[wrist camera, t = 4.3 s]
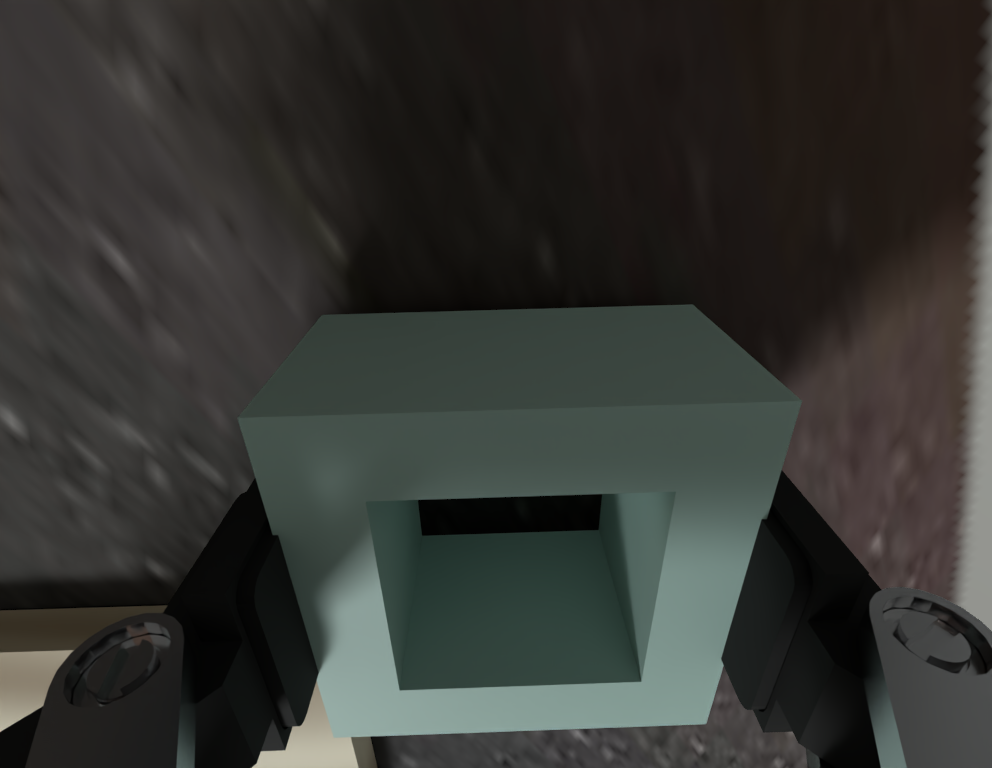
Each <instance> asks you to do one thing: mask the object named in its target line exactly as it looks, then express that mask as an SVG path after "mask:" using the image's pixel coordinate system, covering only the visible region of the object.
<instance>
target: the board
mask: <svg viewBox="0 0 992 768" xmlns="http://www.w3.org/2000/svg"><path fill="white" fill-rule="evenodd" d="M167 606H168V605H162V606H130V607H98V608H66V609H34V610H2V611H0V732H1V731H2V730H4V729H6V728H7V727H9V726H11V725H12V724H14V723H16V722H17V721H19V720H21V719H22V718H24V717H26V716H27V715H29V714H31V713H32V712H34V711H36V710H37V709H39V708H41V707H42V706H43V705H44V701H45V698H46V695H47V691H48V688H49V686H50V684H51V681H52V679H53V677H54V675H55V673H56V671H57V670H58V668H59V667H60V666H61V665H62V663H63V662H64V661H65V660H66V658H67V657H68V656H69V655H70V654H71V653H72V652H73V651H74V650H75V649H76V648H77V647H79V646H80V645H81V644H82V643H83V642H84V641H85V640H87V639H88V638H89V637H91V636H92V635H94V634H96V633H97V632H99V631H100V630H102V629H104V628H105V627H107V626H109V625H111V624H113V623H116V622H118V621H120V620H122V619H125V618H127V617H131V616H135V615H139V614H144V613H163V612H164V610H165V609H166V607H167ZM252 768H377V763H376V759H375V755H374V750H373V746H372V741H371V737H370V736H369V737H342V738H334V737H333V733H332V730H331V727H330V724H329V720H328V717H327V714H326V710H325V707H324V704H323V700H322V697H321V694H320V690H319V687H318V684H317V681H316V684H315V688H314V691H313V695H312V698H311V701H310V705H309V708H308V712H307V715H306V718H305V720H304V722H303V724H302V725H301V726H295V727H292V731H291V734H290V737H289V740H288V743H287V747H286V750H283V751H261V753H260V755H259V758H258V761H257V764H255V765H254V766H253V767H252Z"/></svg>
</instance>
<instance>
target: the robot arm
mask: <svg viewBox="0 0 992 768" xmlns="http://www.w3.org/2000/svg"><path fill="white" fill-rule="evenodd" d="M868 574H869V572H868V571H867V570H866V569H865V568H864V566H863V565H862V564H861V563H860V562H859V561H858V559H857V558H856V557H855V556H854V555H853V553H852V552H851V551H850V550H849V549H848V548H847V546H846V545H845V544H844V543H843V542H842V541H841V539H840V538H839V537H838V536H837V535H836V533H835V532H834V531H833V530H832V529H831V528H830V526H829V525H828V524H827V523H826V522H825V521H824V519H823V518H822V517H821V516H820V515H819V513H818V512H817V511H816V510H815V509H814V508H813V506H812V505H811V504H810V503H809V502H808V501H807V499H806V498H805V497H804V496H803V495H802V493H801V492H800V491H799V490H798V489H797V488H796V486H795V485H794V484H793V483H792V482H791V481H790V479H789V478H788V477H787V476H786V475H785V473H784V472H783V471H782V470H781V473H780V477H779V480H778V483H777V487H776V490H775V494H774V497H773V500H772V504H771V507H770V510H769V514H768V517H767V519H761V523H760V526H759V530H758V533H757V537H756V540H755V543H754V547H753V550H752V554H751V557H750V561H749V564H748V568H747V571H746V574H745V578H744V581H743V585H742V588H741V592H740V595H739V599H738V602H737V605H736V609H735V612H734V616H733V619H732V623H731V626H730V629H729V633H728V636H727V640H726V643H725V647H724V650H723V654H722V657H721V660H722V662H723V665H724V667H725V669H726V671H727V674H728V676H729V678H730V681H731V683H732V685H733V687H734V690H735V692H736V694H737V696H738V699H739V700H740V702H741V704H742V705H743V707H744V708H745V709H747V710H753V711H754V713H755V715H756V717H757V720H758V722H759V724H760V726H761V728H762V730H763V732H790V731H793V733H794V735H795V737H796V739H797V741H798V743H799V744H801V745H802V746H804V747H805V748H806V756H807V767H808V768H992V631H991V630H990V629H989V628H988V627H987V626H985V625H984V624H983V623H982V622H981V621H980V620H979V619H977V618H976V617H974V616H973V615H971V614H970V613H969V612H967V611H966V610H964V609H963V608H961V607H959V606H957V605H955V604H953V603H952V602H950V601H948V600H946V599H944V598H942V597H939V596H936V595H933V594H931V593H928V592H925V591H922V590H917V589H911V588H905V587H894V588H886V589H883V590H881V589H880V588H879V586H878V585H877V584H876V583H875V582H874V581H873V579H872V578H871V577H870V576H869V575H868ZM318 674H319V672H318V669H317V665H316V662H315V658H314V655H313V652H312V648H311V645H310V641H309V638H308V635H307V631H306V628H305V624H304V621H303V618H302V614H301V611H300V607H299V604H298V601H297V597H296V594H295V590H294V587H293V584H292V580H291V577H290V573H289V570H288V567H287V563H286V560H285V556H284V553H283V550H282V546H281V543H280V540H279V536H278V535H273V534H272V531H271V528H270V524H269V521H268V518H267V514H266V511H265V508H264V504H263V501H262V498H261V494H260V491H259V488H258V484H257V481H256V478H255V479H254V481H253V482H252V484H251V485H250V487H249V489H248V490H247V492H245V493H243V494H241V495H240V496H239V497H238V498H237V499H236V500H235V502H234V504H233V505H232V507H231V508H230V510H229V511H228V513H227V514H226V516H225V517H224V519H223V521H222V522H221V524H220V525H219V527H218V528H217V530H216V531H215V533H214V534H213V536H212V538H211V539H210V541H209V542H208V544H207V545H206V547H205V548H204V550H203V551H202V553H201V555H200V556H199V558H198V559H197V561H196V562H195V564H194V565H193V567H192V568H191V570H190V572H189V573H188V575H187V576H186V578H185V579H184V581H183V582H182V584H181V585H180V587H179V589H178V590H177V592H176V593H175V595H174V596H173V598H172V599H171V601H170V602H169V604H168V606H167V607H166V609H165V610H164V612H163V613H144V614H139V615H135V616H131V617H127V618H125V619H122V620H120V621H118V622H116V623H113V624H111V625H109V626H107V627H105V628H104V629H102V630H100V631H99V632H97V633H96V634H94V635H92V636H91V637H89V638H88V639H87V640H85V641H84V642H83V643H82V644H81V645H80V646H79V647H77V648H76V649H75V650H74V651H73V652H72V653H71V654H70V655H69V656H68V657H67V658H66V660H65V661H64V662H63V663H62V665H61V666H60V667H59V668H58V670H57V671H56V673H55V675H54V677H53V679H52V681H51V684H50V686H49V688H48V691H47V695H46V698H45V701H44V705H43V706H42V707H41V708H39V709H37V710H36V711H34V712H32V713H31V714H29V715H27V716H26V717H24V718H22V719H21V720H19V721H17V722H16V723H14V724H12V725H11V726H9V727H7V728H6V729H4V730H2V731H1V732H0V768H252V767H253V766H254V765H255V764H257V761H258V758H259V755H260V753H261V751H283V750H286V747H287V743H288V740H289V737H290V734H291V731H292V727H295V726H301V725H302V724H303V722H304V720H305V718H306V715H307V712H308V708H309V705H310V701H311V698H312V695H313V691H314V688H315V684H316V681H317V678H318Z"/></svg>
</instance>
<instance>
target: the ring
mask: <svg viewBox="0 0 992 768" xmlns="http://www.w3.org/2000/svg"><path fill="white" fill-rule="evenodd" d="M801 403H802V401H801V400H800V399H799V398H798V397H797V396H796V395H795V394H794V393H792V392H791V391H790V390H789V389H788V388H787V387H786V386H784V385H783V384H782V383H781V382H780V381H779V380H778V379H777V378H775V377H774V376H773V375H772V374H771V373H770V372H769V371H767V370H766V369H765V368H764V367H763V366H762V365H761V364H760V363H758V362H757V361H756V360H755V359H754V358H753V357H752V356H750V355H749V354H748V353H747V352H746V351H745V350H744V349H743V348H741V347H740V346H739V345H738V344H737V343H736V342H735V341H734V340H732V339H731V338H730V337H729V336H728V335H727V334H726V333H724V332H723V331H722V330H721V329H720V328H719V327H718V326H717V325H715V324H714V323H713V322H712V321H711V320H710V319H709V318H707V317H706V316H705V315H704V314H703V313H702V312H701V311H700V310H698V309H697V308H696V307H695V306H694V305H693V304H691V305H655V306H620V307H584V308H548V309H513V310H477V311H441V312H406V313H370V314H334V315H322V316H321V317H320V318H319V319H318V320H317V322H316V323H315V324H314V325H313V327H312V328H311V329H310V330H309V331H308V333H307V334H306V335H305V336H304V337H303V339H302V340H301V341H300V342H299V344H298V345H297V346H296V347H295V348H294V350H293V351H292V352H291V353H290V355H289V356H288V357H287V358H286V359H285V361H284V362H283V363H282V364H281V366H280V367H279V368H278V369H277V370H276V372H275V373H274V374H273V375H272V376H271V378H270V379H269V380H268V381H267V383H266V384H265V385H264V386H263V387H262V389H261V390H260V391H259V392H258V394H257V395H256V396H255V397H254V398H253V400H252V401H251V402H250V403H249V405H248V406H247V407H246V408H245V409H244V411H243V412H242V413H241V414H240V416H239V417H238V421H239V425H240V428H241V431H242V435H243V438H244V441H245V445H246V448H247V451H248V455H249V458H250V461H251V465H252V468H253V471H254V475H255V478H256V481H257V484H258V488H259V491H260V494H261V498H262V501H263V504H264V508H265V511H266V514H267V518H268V521H269V524H270V528H271V531H272V534H273V535H278V536H279V540H280V543H281V546H282V550H283V553H284V556H285V560H286V563H287V567H288V570H289V573H290V577H291V580H292V584H293V587H294V590H295V594H296V597H297V601H298V604H299V607H300V611H301V614H302V618H303V621H304V624H305V628H306V631H307V635H308V638H309V641H310V645H311V648H312V652H313V655H314V658H315V662H316V665H317V669H318V672H319V674H318V678H317V684H318V687H319V690H320V694H321V697H322V700H323V704H324V707H325V710H326V714H327V717H328V720H329V724H330V727H331V730H332V733H333V737H334V738H342V737H369V736H396V735H423V734H450V733H477V732H505V731H532V730H559V729H586V728H613V727H640V726H667V725H694V724H706V723H707V719H708V716H709V713H710V709H711V706H712V702H713V699H714V696H715V692H716V689H717V686H718V682H719V679H720V676H721V672H722V669H723V662H722V660H721V657H722V654H723V650H724V647H725V643H726V640H727V636H728V633H729V629H730V626H731V623H732V619H733V616H734V612H735V609H736V605H737V602H738V599H739V595H740V592H741V588H742V585H743V581H744V578H745V574H746V571H747V568H748V564H749V561H750V557H751V554H752V550H753V547H754V543H755V540H756V537H757V533H758V530H759V526H760V523H761V519H767V517H768V514H769V510H770V507H771V504H772V500H773V497H774V494H775V490H776V487H777V483H778V480H779V477H780V473H781V470H782V467H783V463H784V460H785V456H786V453H787V450H788V446H789V443H790V440H791V436H792V433H793V430H794V426H795V423H796V419H797V416H798V413H799V409H800V406H801ZM586 494H602V500H601V511H600V521H599V530H585V531H555V532H524V533H494V534H463V535H433V536H422V531H421V523H420V514H419V506H418V500H430V499H461V498H492V497H524V496H555V495H586Z"/></svg>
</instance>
